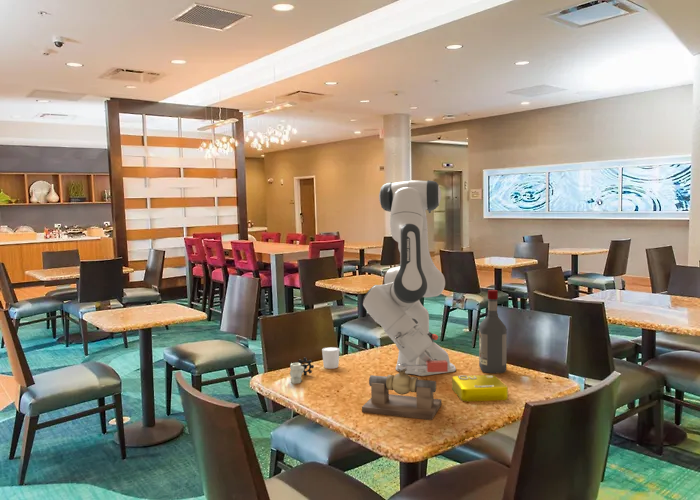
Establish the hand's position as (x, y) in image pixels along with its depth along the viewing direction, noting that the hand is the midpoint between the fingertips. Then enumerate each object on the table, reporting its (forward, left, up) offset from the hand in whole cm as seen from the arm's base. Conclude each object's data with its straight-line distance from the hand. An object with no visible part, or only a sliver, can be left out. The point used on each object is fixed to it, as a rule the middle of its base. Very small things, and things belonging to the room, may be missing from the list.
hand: (433, 364), depth 169 cm
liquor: (-35, -31, -13) cm, 49 cm away
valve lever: (+4, +2, -1) cm, 5 cm away
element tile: (-18, -7, -13) cm, 23 cm away
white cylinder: (+23, -51, -13) cm, 58 cm away
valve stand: (+10, +1, -13) cm, 16 cm away
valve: (+37, -37, -13) cm, 54 cm away
